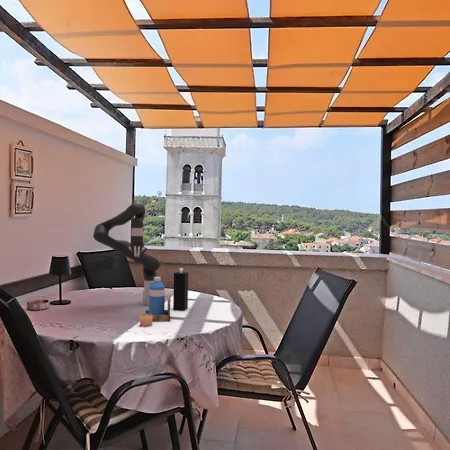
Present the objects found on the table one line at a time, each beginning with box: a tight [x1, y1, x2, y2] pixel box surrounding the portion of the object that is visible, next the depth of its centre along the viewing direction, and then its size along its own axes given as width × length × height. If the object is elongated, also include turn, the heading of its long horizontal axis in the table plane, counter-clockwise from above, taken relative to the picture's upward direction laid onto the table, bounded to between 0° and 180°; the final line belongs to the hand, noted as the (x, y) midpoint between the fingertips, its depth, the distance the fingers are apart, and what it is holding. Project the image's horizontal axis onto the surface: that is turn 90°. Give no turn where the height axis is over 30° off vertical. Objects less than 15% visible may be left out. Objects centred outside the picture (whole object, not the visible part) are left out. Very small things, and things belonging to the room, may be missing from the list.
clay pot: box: [139, 312, 153, 328], centre depth 244 cm, size 7×7×6 cm
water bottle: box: [148, 276, 166, 315], centre depth 261 cm, size 9×9×25 cm
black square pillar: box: [172, 267, 189, 312], centre depth 286 cm, size 8×8×28 cm
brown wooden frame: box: [145, 294, 172, 323], centre depth 260 cm, size 15×15×13 cm
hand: (136, 262), depth 268 cm, fingers closed
